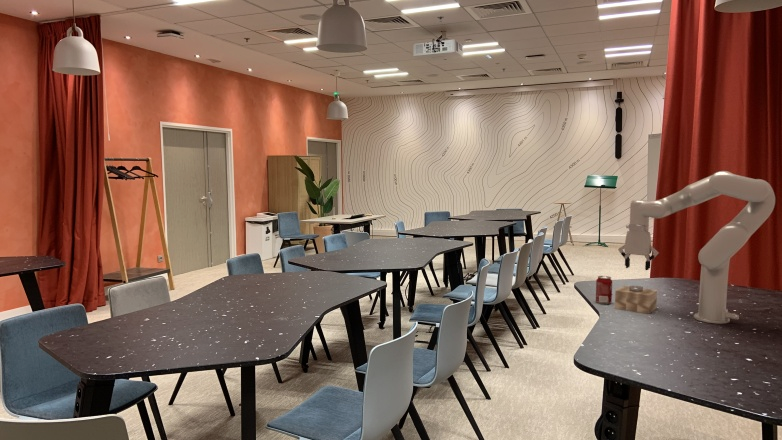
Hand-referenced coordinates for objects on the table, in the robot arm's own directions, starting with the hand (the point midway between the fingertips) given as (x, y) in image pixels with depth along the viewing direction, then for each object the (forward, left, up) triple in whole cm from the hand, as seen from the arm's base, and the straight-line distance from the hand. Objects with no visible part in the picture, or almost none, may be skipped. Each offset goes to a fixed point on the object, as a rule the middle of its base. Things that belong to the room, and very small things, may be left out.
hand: (637, 268), depth 236 cm
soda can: (+14, -1, -18) cm, 23 cm away
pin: (0, 0, -17) cm, 17 cm away
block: (0, 0, -18) cm, 18 cm away
